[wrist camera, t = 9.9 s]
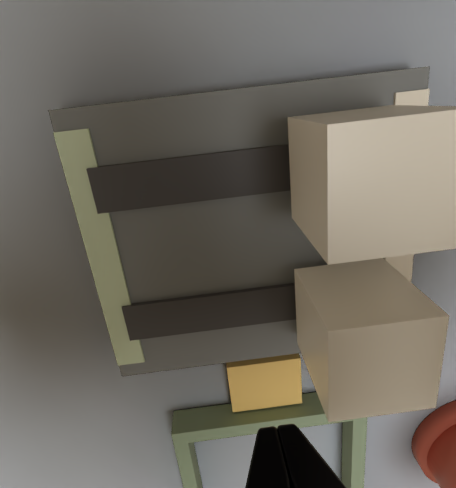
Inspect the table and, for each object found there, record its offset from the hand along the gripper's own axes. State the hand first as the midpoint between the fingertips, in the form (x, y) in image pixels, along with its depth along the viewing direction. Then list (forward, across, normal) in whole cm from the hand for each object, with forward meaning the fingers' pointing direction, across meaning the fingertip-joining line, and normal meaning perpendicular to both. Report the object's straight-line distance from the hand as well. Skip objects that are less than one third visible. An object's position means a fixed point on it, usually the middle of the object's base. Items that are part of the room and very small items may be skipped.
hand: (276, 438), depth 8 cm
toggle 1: (+5, -3, -5) cm, 8 cm away
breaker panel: (+6, 0, -3) cm, 7 cm away
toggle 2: (+5, -3, 0) cm, 6 cm away
